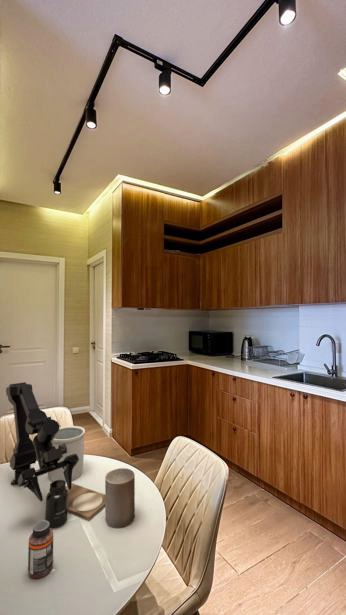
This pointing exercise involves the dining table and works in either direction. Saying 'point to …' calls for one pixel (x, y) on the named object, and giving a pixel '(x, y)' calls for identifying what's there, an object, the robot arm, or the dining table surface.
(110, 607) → the dining table surface
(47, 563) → the supplement bottle
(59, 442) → the utensil holder
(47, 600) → the dining table surface
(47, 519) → the supplement bottle
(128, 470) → the pillar candle
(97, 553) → the dining table surface
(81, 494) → the board
